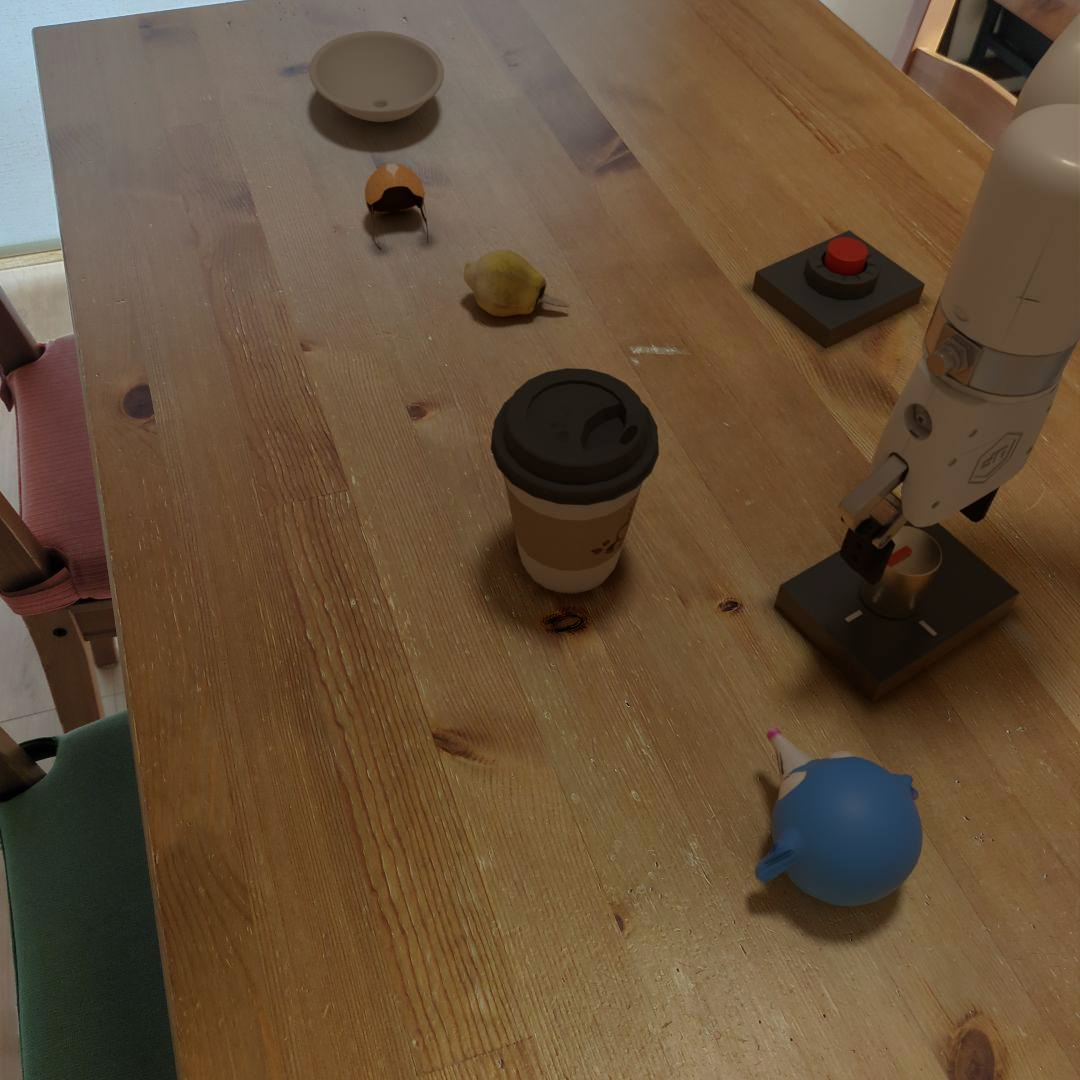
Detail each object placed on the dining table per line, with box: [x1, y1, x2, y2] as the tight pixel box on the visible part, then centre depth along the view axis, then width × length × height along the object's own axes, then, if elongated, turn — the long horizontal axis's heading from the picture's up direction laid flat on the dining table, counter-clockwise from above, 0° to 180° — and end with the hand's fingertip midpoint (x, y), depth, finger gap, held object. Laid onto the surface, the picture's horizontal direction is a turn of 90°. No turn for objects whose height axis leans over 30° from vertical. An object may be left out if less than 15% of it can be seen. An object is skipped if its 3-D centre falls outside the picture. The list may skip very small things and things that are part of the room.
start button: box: [824, 237, 868, 276], centre depth 101 cm, size 4×4×2 cm
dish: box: [308, 30, 445, 123], centre depth 123 cm, size 18×14×5 cm
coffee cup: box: [490, 367, 660, 594], centre depth 79 cm, size 11×11×15 cm
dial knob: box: [859, 526, 942, 619], centre depth 77 cm, size 4×4×5 cm
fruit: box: [463, 249, 571, 318], centre depth 101 cm, size 6×6×10 cm
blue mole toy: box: [754, 727, 924, 907], centre depth 67 cm, size 12×12×8 cm
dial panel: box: [774, 521, 1020, 703], centre depth 81 cm, size 14×10×3 cm
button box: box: [751, 229, 926, 349], centre depth 103 cm, size 12×10×4 cm
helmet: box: [364, 163, 429, 250], centre depth 109 cm, size 6×7×8 cm
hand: (911, 537), depth 74 cm, fingers open, 9 cm apart
